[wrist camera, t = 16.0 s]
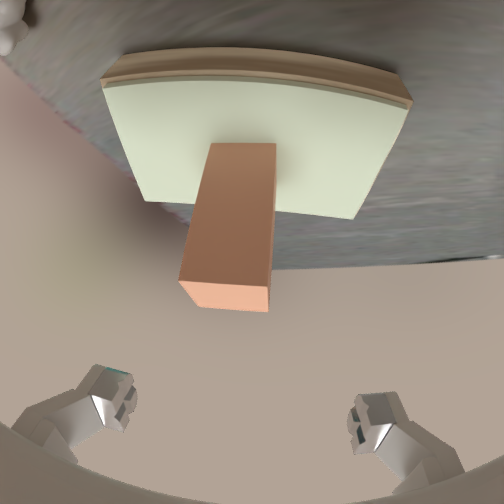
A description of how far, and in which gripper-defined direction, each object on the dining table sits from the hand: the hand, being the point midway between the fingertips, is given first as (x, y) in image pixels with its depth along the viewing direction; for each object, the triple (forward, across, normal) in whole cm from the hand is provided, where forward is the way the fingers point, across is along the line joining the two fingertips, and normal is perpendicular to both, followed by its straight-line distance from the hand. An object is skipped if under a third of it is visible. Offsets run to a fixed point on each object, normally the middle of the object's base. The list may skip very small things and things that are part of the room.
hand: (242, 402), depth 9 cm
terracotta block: (+12, -1, +7) cm, 14 cm away
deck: (+14, -1, +11) cm, 18 cm away
